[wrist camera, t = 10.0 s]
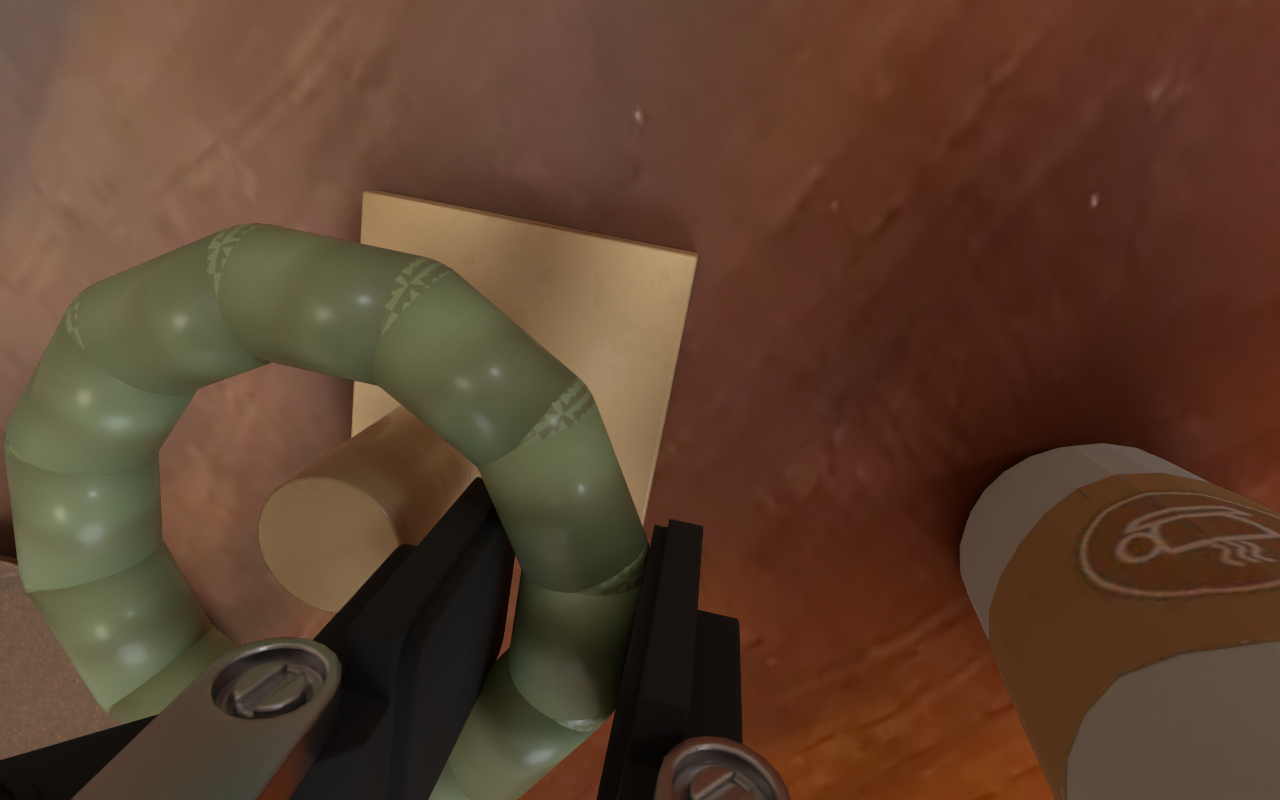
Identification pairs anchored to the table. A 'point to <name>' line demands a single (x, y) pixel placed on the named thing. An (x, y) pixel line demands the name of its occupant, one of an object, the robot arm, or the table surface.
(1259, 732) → the coffee cup
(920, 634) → the table surface
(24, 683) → the saucer
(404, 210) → the post
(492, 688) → the ring
